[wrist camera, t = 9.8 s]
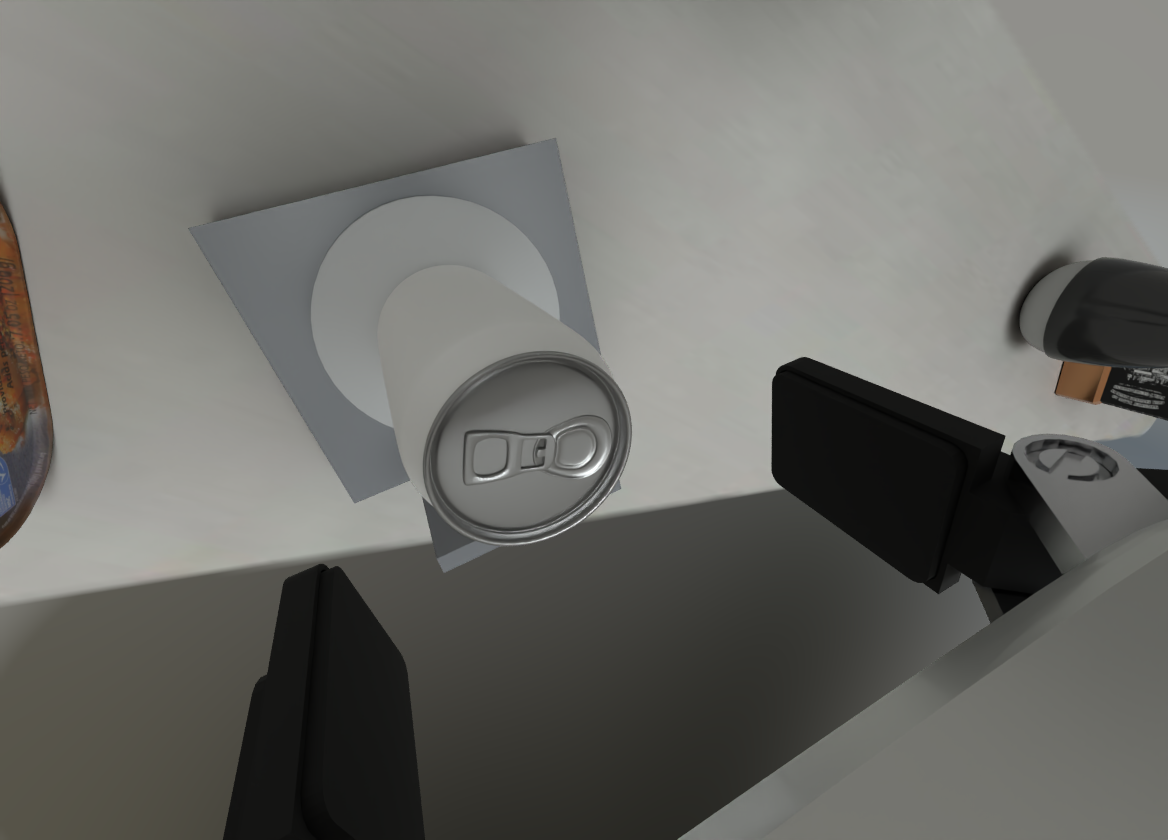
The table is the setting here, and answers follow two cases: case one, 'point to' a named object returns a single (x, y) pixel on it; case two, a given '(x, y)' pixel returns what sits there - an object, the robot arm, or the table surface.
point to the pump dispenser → (1100, 314)
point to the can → (498, 408)
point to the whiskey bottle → (1117, 387)
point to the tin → (19, 395)
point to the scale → (369, 275)
